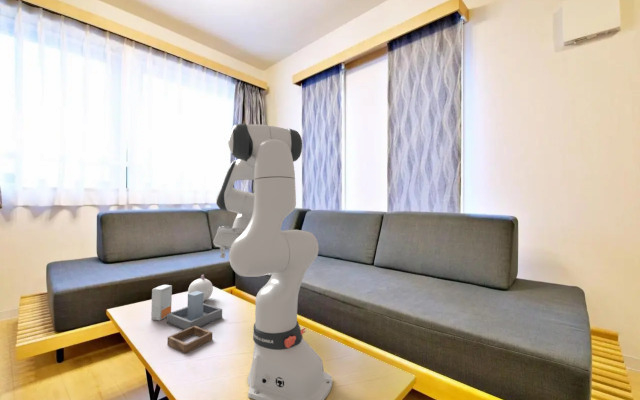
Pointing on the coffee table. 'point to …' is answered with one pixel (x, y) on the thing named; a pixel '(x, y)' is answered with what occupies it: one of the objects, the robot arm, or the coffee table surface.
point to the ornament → (201, 287)
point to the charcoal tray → (180, 319)
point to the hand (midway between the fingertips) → (233, 259)
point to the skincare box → (161, 302)
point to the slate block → (195, 305)
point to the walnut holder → (187, 347)
